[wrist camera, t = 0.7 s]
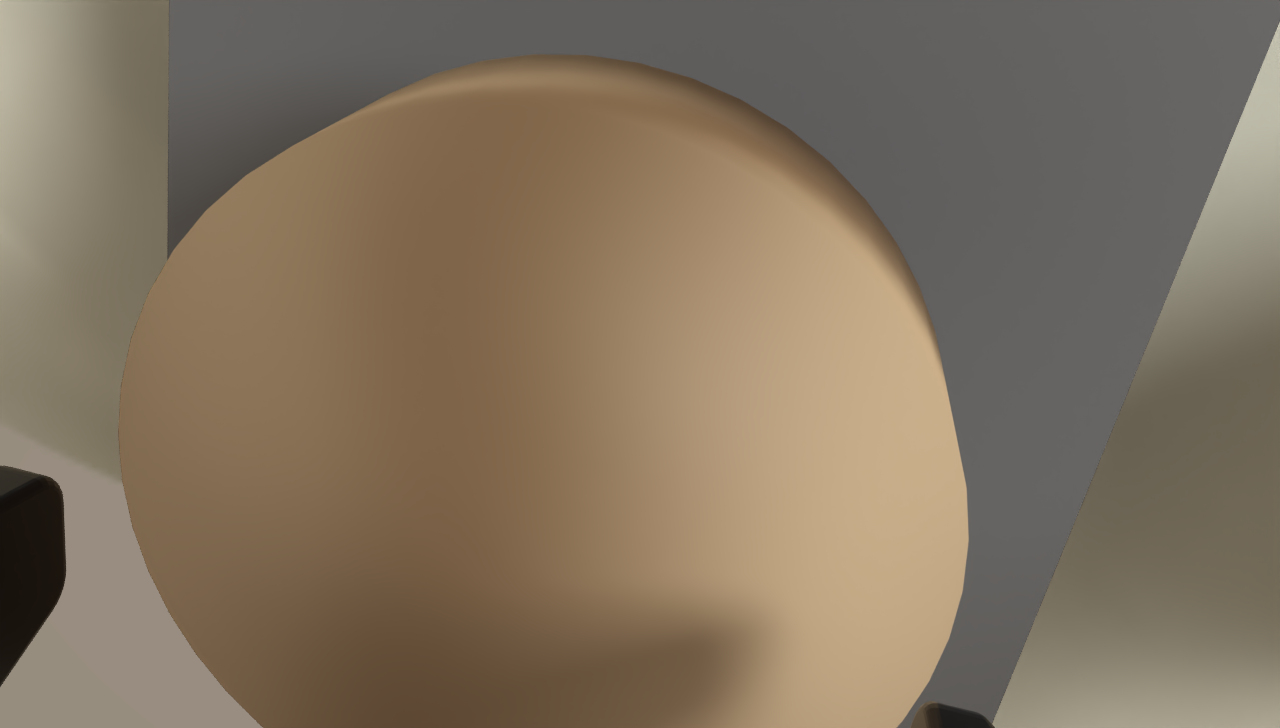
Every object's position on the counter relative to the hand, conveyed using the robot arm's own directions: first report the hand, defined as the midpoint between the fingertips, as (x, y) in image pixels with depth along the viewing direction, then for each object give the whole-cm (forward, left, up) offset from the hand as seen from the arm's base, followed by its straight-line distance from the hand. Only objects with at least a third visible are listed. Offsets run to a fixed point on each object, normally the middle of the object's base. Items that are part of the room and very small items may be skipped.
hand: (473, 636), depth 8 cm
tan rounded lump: (0, 0, -7) cm, 7 cm away
